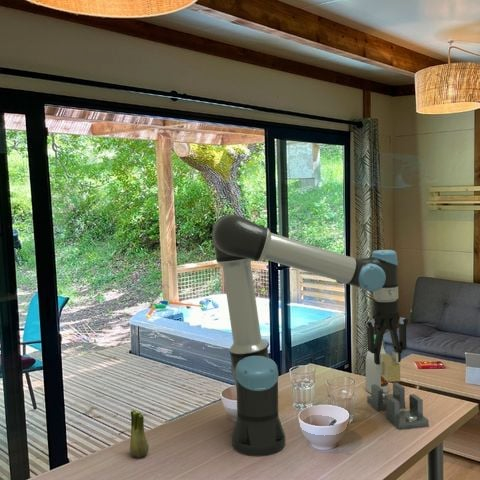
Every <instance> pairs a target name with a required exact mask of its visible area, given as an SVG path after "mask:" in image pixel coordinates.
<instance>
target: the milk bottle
mask: <svg viewBox="0 0 480 480" xmlns="http://www.w3.org/2000/svg"><path fill="white" fill-rule="evenodd" d="M375 339H376V334H374V344H375ZM383 343H384V340H383V341H382V346H381V351H380V354H387V352H386V350H385V349H384V348H385V347H384V344H383ZM365 356H366V357H365V391H366V392H368V393H370V394H371V385H375V384H376V385H377V386H379V387H380V388H381V389H383V392H385V393H387V394H388V391H389V382H387V381H386V380H385V379H384V378H383V376H381V375H379V374H378V373H377V370H376V364H375V363H374V353H371V352H369V351H368V350H367V353H366V355H365Z"/></svg>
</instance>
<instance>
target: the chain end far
mask: <svg viewBox="0 0 480 480" xmlns="http://www.w3.org/2000/svg"><path fill="white" fill-rule="evenodd" d="M370 394H371V395H368V396H367V397H366V398H367V399H366V400H367V401H366V403H368V404H369V406H371V407H372V408H373V409H375V410H376V411H377V412H383V411H385V412H387V397H389V396H392V397H393V398H395V399H396V400H397V401H398V402H399V410H403V409H406V401H405V400H406V398H405V397H406V393H405V387H404V385H402V384H400V383H399V382H393V383H392V393H388V392H387V393H385V392H383V389H381V388H380V387H379V386H377V385H376V384H375V385H371V393H370Z"/></svg>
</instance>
